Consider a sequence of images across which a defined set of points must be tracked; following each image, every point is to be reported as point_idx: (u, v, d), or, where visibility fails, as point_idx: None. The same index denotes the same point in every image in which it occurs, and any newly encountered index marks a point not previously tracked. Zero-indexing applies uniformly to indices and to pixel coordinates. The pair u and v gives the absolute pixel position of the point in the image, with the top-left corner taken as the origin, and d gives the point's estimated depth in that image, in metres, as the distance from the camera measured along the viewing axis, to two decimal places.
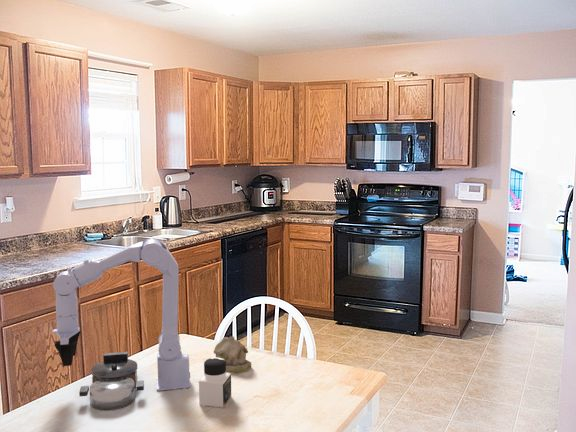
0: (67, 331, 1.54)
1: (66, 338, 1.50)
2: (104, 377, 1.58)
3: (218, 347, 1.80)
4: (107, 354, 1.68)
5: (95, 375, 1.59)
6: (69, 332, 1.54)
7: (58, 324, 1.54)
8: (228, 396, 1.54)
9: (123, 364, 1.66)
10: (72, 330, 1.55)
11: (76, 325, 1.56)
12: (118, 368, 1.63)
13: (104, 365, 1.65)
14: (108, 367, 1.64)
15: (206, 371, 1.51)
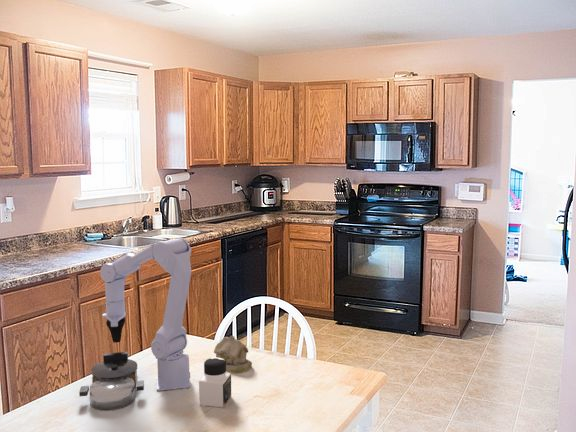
0: (116, 315, 1.71)
1: (116, 321, 1.67)
2: (104, 377, 1.58)
3: (218, 347, 1.80)
4: (107, 354, 1.68)
5: (95, 375, 1.59)
6: (117, 316, 1.71)
7: (107, 309, 1.71)
8: (228, 396, 1.54)
9: (123, 364, 1.66)
10: (120, 314, 1.72)
11: (123, 310, 1.73)
12: (118, 368, 1.63)
13: (104, 365, 1.65)
14: (108, 367, 1.64)
15: (206, 371, 1.51)
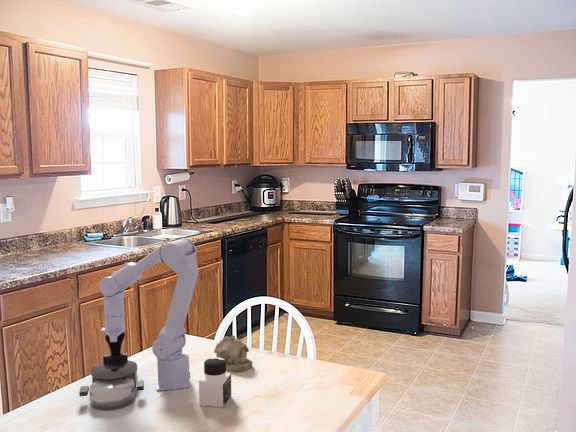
0: (115, 330, 1.66)
1: (115, 336, 1.62)
2: (104, 378, 1.57)
3: (219, 346, 1.80)
4: (107, 355, 1.68)
5: (95, 376, 1.58)
6: (117, 331, 1.67)
7: (106, 323, 1.67)
8: (228, 396, 1.54)
9: (123, 365, 1.65)
10: (119, 329, 1.67)
11: (123, 324, 1.68)
12: (118, 369, 1.62)
13: (104, 366, 1.64)
14: (108, 368, 1.63)
15: (206, 371, 1.51)
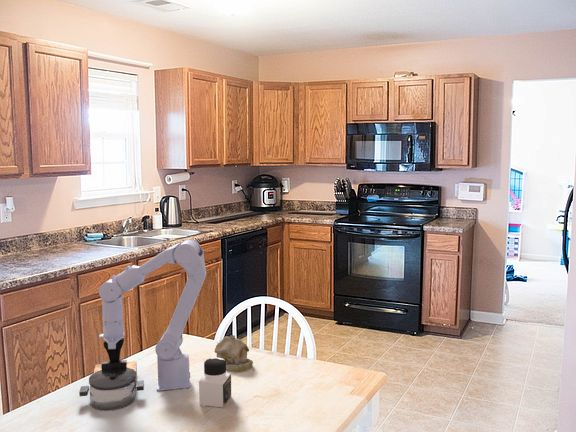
0: (113, 336, 1.61)
1: (114, 343, 1.57)
2: (102, 387, 1.51)
3: (219, 346, 1.80)
4: (105, 362, 1.62)
5: (92, 385, 1.52)
6: (115, 337, 1.61)
7: (105, 329, 1.61)
8: (228, 396, 1.54)
9: (122, 373, 1.59)
10: (118, 335, 1.62)
11: (122, 330, 1.63)
12: (117, 377, 1.56)
13: (102, 374, 1.59)
14: (106, 376, 1.57)
15: (206, 371, 1.51)
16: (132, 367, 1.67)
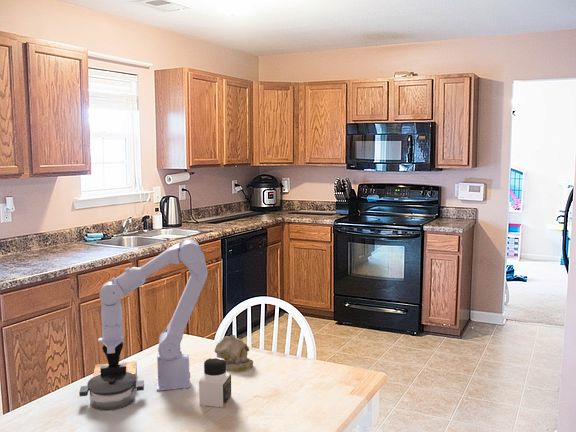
0: (113, 340, 1.58)
1: (113, 347, 1.53)
2: (101, 392, 1.48)
3: (219, 346, 1.80)
4: (104, 367, 1.59)
5: (91, 390, 1.49)
6: (114, 341, 1.58)
7: (104, 333, 1.58)
8: (228, 396, 1.54)
9: (121, 378, 1.56)
10: (117, 339, 1.58)
11: (121, 334, 1.59)
12: (116, 382, 1.53)
13: (101, 378, 1.55)
14: (105, 381, 1.54)
15: (206, 371, 1.51)
16: (132, 367, 1.67)
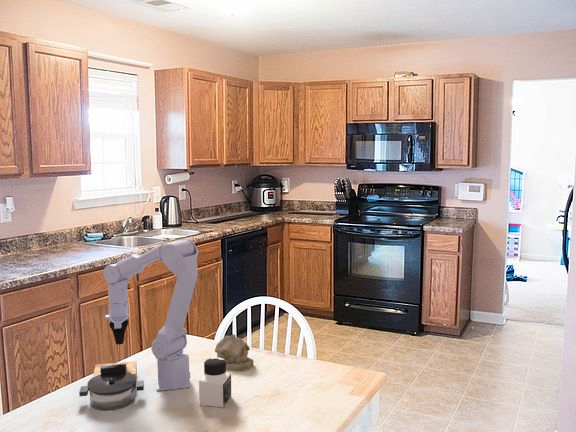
0: (119, 316, 1.69)
1: (119, 322, 1.65)
2: (101, 392, 1.48)
3: (219, 346, 1.81)
4: (104, 367, 1.59)
5: (91, 390, 1.49)
6: (121, 317, 1.69)
7: (111, 310, 1.69)
8: (228, 396, 1.54)
9: (121, 378, 1.56)
10: (123, 316, 1.70)
11: (126, 311, 1.71)
12: (116, 382, 1.53)
13: (101, 378, 1.56)
14: (105, 381, 1.54)
15: (206, 371, 1.51)
16: (132, 367, 1.67)
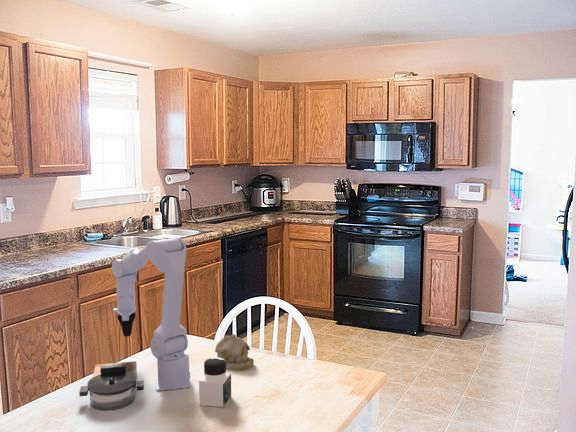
0: (126, 309, 1.77)
1: (127, 315, 1.73)
2: (101, 392, 1.48)
3: (220, 346, 1.81)
4: (104, 367, 1.59)
5: (91, 390, 1.49)
6: (128, 310, 1.77)
7: (119, 303, 1.77)
8: (228, 396, 1.54)
9: (121, 378, 1.56)
10: (131, 309, 1.78)
11: (134, 304, 1.79)
12: (116, 382, 1.53)
13: (101, 378, 1.56)
14: (105, 381, 1.54)
15: (206, 371, 1.51)
16: (132, 367, 1.67)
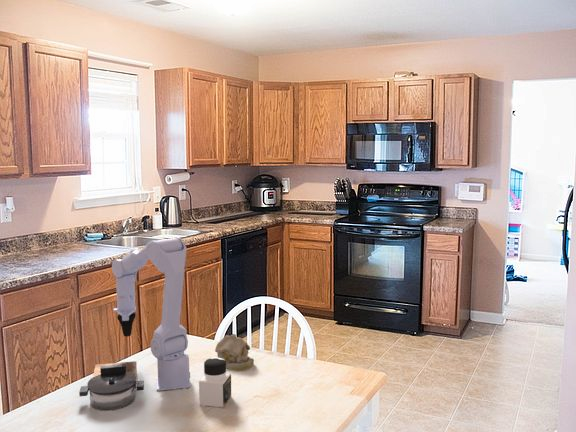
0: (126, 309, 1.77)
1: (127, 315, 1.73)
2: (101, 392, 1.48)
3: (220, 345, 1.81)
4: (104, 367, 1.59)
5: (91, 390, 1.49)
6: (128, 310, 1.77)
7: (119, 303, 1.77)
8: (228, 396, 1.54)
9: (121, 378, 1.56)
10: (131, 309, 1.78)
11: (134, 304, 1.79)
12: (116, 382, 1.53)
13: (101, 378, 1.56)
14: (105, 381, 1.54)
15: (206, 371, 1.51)
16: (132, 367, 1.67)
